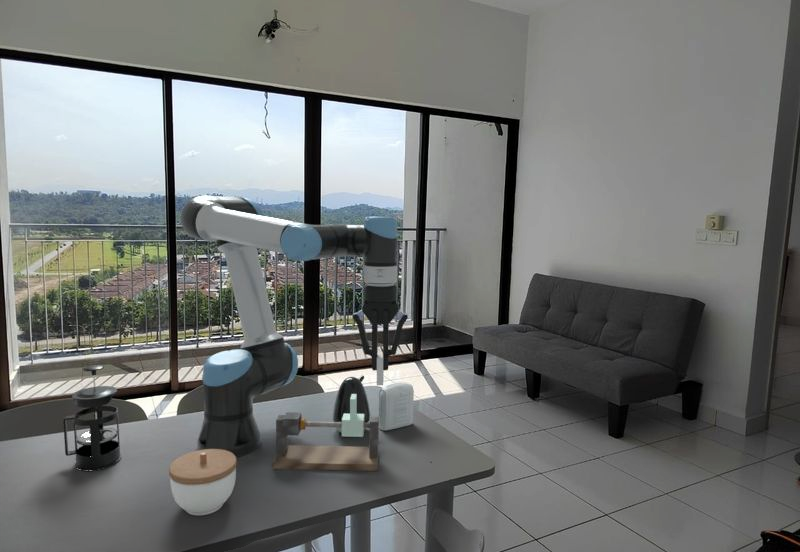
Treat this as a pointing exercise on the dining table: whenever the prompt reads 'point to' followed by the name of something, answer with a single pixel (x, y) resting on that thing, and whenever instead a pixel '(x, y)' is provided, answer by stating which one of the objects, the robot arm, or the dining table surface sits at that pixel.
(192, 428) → the dining table surface
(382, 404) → the photo printer
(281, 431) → the rod stand
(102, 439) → the french press
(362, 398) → the pump dispenser
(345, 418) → the pale green block
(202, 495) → the lidded bowl
